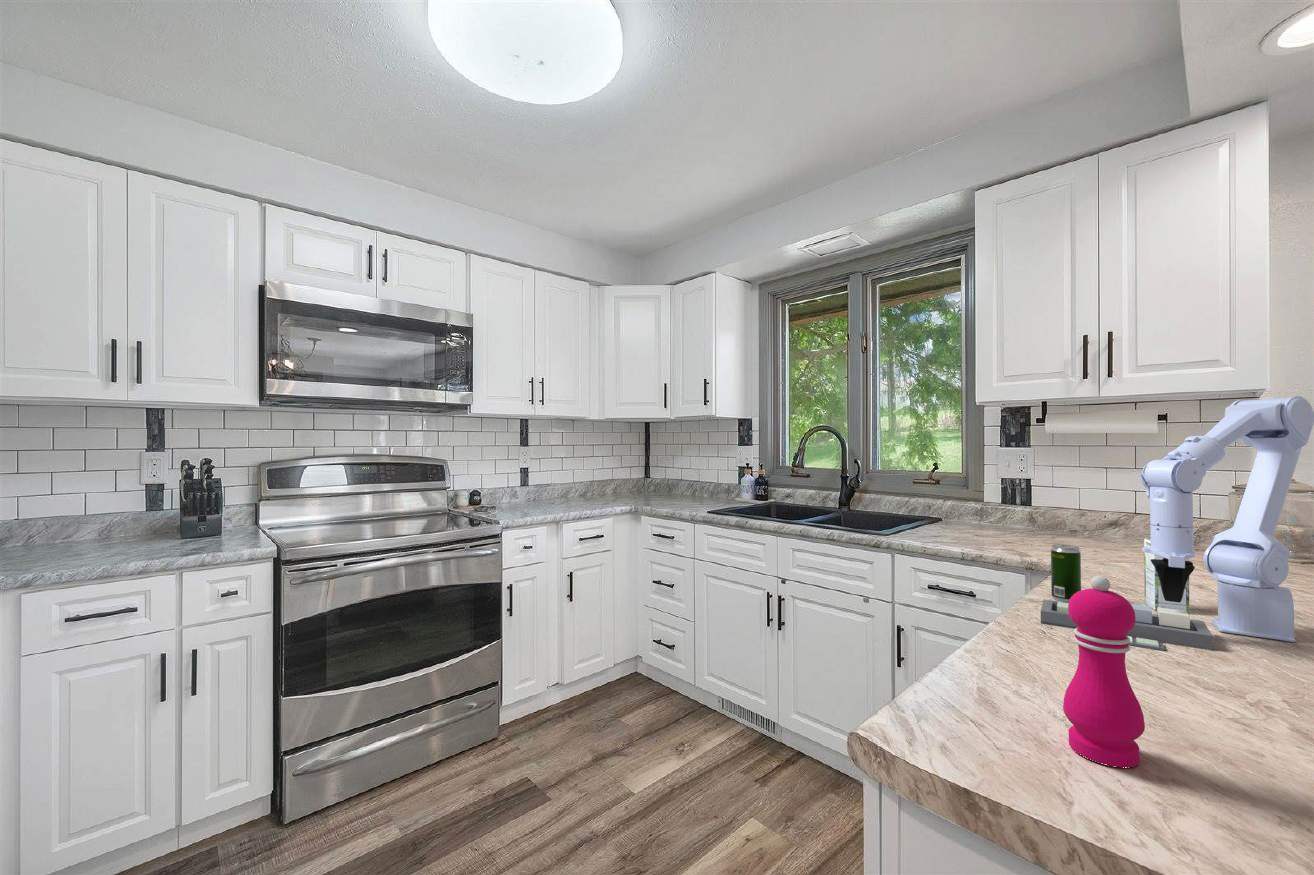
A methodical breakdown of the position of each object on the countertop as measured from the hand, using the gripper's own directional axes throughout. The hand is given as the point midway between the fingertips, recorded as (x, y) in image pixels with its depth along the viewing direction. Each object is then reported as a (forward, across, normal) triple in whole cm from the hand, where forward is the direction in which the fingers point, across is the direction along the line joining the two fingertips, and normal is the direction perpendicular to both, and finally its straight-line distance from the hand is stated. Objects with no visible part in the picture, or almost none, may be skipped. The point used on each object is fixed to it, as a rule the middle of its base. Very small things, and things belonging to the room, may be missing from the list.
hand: (1172, 601), depth 100 cm
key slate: (+4, 0, -5) cm, 6 cm away
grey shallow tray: (+6, 0, -8) cm, 10 cm away
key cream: (+4, 0, 0) cm, 4 cm away
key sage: (+6, 0, -15) cm, 16 cm away
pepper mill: (+7, +56, -11) cm, 57 cm away
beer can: (+7, -18, -16) cm, 25 cm away
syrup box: (+7, -22, +1) cm, 23 cm away
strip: (+6, +8, -8) cm, 13 cm away
